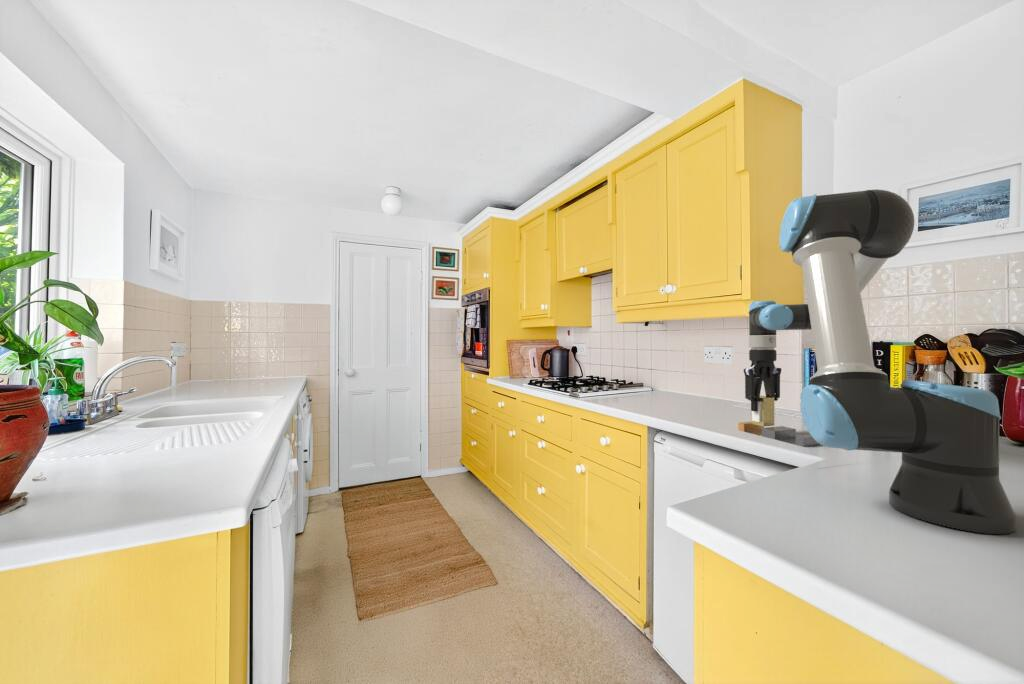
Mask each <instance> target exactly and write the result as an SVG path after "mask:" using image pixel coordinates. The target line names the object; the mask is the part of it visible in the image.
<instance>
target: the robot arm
mask: <svg viewBox="0 0 1024 684" xmlns="http://www.w3.org/2000/svg"><path fill="white" fill-rule="evenodd" d="M780 224H781V225H780V230H779V240H778V245H779V248H780V251H782V252H785V253H790V252H791V256H792V261H793V263H794V264H796V265H798V266H800V267H802V272H803V273H802V274H803V280H804V281H803V282H804V286H805V294H806V301H807V303H801V304H799V303H796V304H781V303H777V302H776V301H775V300H756V301H751V302H750V303H749V308H748V315H749V317H748V328H749V329H748V331H749V332H748V333H749V336H748V348H749V351H748V359H749V361H750V362H751V364H750V367H749V368H743V373H744V384H745V385H744V388H745V389H744V392H745V393H744V394H745V396H744V397H745V399H746V400H748V401H750V410H751V411H752V421H756V422H761V402H760V401H759V397H760V396H761V390H762V387H764V392H765V396H768V397H774V402H775V401H776V402H778V400H779V399H780V398H781V373H782V368H781V367H776V365H775V362H776V361H777V350H776V348H777V331H790V330H791V331H796V330H798V331H800V330H801V331H802V330H807V331H809V330H811V334H812V335H811V336H812V340H813V341H812V342H813V349H814V354H815V355H814V357H815V360H816V361H815V362H816V369H817V370H816V372H815V373H814V374H813V375H812V376H810V377H809V384H808V385H807V386H805V387H803V389H802V391H801V392H800V397H799V398H800V403H799V405H800V413H801V417H802V421H803V423H804V425H805V428H806V430H807V431H808V433H809V435H811V436H812V437H813V438H814V440H815V441H817V442H818V443H819V444H821V445H820V446H824V447H827V448H831V449H842V450H845V451H855V450H858V451H872V452H886V453H887V452H888V453H901V464H900V466H899V469H898V471H897V473H896V475H895V477H894V479H893V481H892V483H891V486H890V488H889V489H888V490H889V491H888V503H889V505H890V506H891V507H892V508H894V510H897V511H899V513H902V514H905V515H907V516H909V515H910V516H909V517H912V518H915V519H917V518H918V520H920V519H921V520H920V521H923V520H924V522H927V521H928V522H927V523H930V522H931V523H930V524H934V523H935V524H934V525H937V524H939V525H938V526H941V525H943V526H942V527H945V526H947V527H946V528H950V527H951V528H950V529H954V528H956V529H955V530H959V529H960V530H961V531H965V530H966V532H971V531H972V532H973V533H980V534H991V535H995V534H996V535H1005V534H1011V533H1014V532H1015V531H1016V530H1017V517H1016V513H1015V510H1014V507H1013V506H1012V504H1011V502H1010V500H1009V497H1008V495H1007V493H1006V491H1005V490H1004V487H1003V485H1002V482H1001V480H1000V420H1001V419H1002V416H1001V412H1000V404H999V399H998V397H997V395H996V394H995V393H993V392H992V391H990V390H988V389H982V388H976V387H968V386H962V385H953V384H948V383H947V384H945V383H940V382H930V381H924V380H916V379H915V380H914V379H903V380H902V381H901V383H900V385H899V386H900V387H894V386H893V387H892V386H891V385H890V383H889V376H888V374H887V373H886V372H884V371H882V370H880V369H879V368H877V366H875V362H874V356H873V352H872V346H871V342H870V341H871V340H870V337H869V331H868V325H867V320H866V315H865V310H864V305H863V299H862V294H861V293H862V292H863V290H864V289H866V287H867V285H868V284H869V283H870V282H871V280H872V279H873V278H874V277H875V275H876V274H877V273H878V272H879V270H880V269H881V268H882V267H883V265H884V264H885V263H886V261H888V259H891V258H893V257H895V256H897V255H898V254H900V253H901V252H902V251H903V249H904V248H905V247H906V246H907V244H908V243H909V241H910V239H911V238H912V235H913V233H914V230H915V229H914V227H915V215H914V212H913V209H912V207H911V205H910V203H908V201H906V199H905V198H904V197H902V196H900V195H899V194H897V193H895V192H892V191H889V190H885V189H866V190H859V191H851V192H850V191H848V192H841V193H832V194H822V195H821V194H820V195H817V194H815V193H814V194H813V195H809V196H801V197H796V198H794V199H793V200H792V201H790V203H789V204H788V206H787V207H786V210H785V212H784V215H783V217H782V220H781V223H780ZM762 385H763V386H762ZM751 411H750V412H751Z"/></svg>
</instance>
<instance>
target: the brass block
mask: <svg viewBox="0 0 1024 684" xmlns="http://www.w3.org/2000/svg"><path fill="white" fill-rule="evenodd" d="M759 401H760V402H761V422H756V421H752V411H750V413H751V415H750V417H751V418H750V420H751V421H750V422H751V424H755V425H759V426H764V427H771V426H772V427H775V401H774V397H768V396H766V395H760V397H759Z"/></svg>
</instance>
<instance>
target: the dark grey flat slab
mask: <svg viewBox="0 0 1024 684" xmlns="http://www.w3.org/2000/svg"><path fill="white" fill-rule="evenodd" d="M737 426H738V428H737V430H738V431H740V432H744V433H748V434H752V435H756V436H760V437H763V438H767V439H771V440H775V441H778V442H783V443H787V444H792V445H795V446H798V447H802V448H803V447H804V448H807V447H815V446H822V445H821V444H819V443H818V442H817V441H815V440H814V438H813V437H812V436H811V435H810V434H804V435H796V434H797V431H796V430H797V429H796V428H792V427H787V426H783V425H779V426H772V427H771V426H767V427H765V426H759V425H755V424H751V421H741V422H738V425H737Z"/></svg>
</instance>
